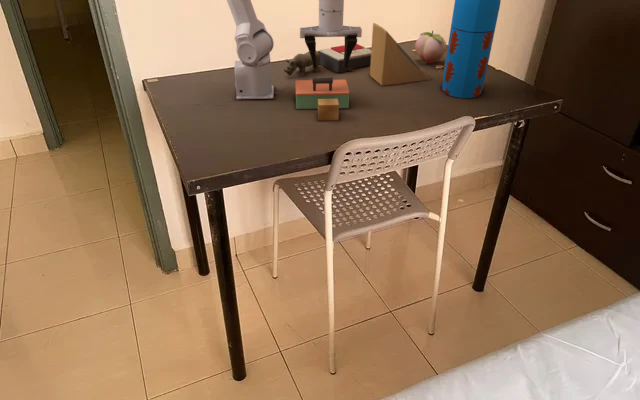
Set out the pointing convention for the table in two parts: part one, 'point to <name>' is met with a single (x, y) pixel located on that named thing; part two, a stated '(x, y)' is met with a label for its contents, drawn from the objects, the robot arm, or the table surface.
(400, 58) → the sandwich container
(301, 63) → the rhino figurine
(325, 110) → the block
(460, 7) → the thermos
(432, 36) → the decorative fruit
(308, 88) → the lid
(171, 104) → the table surface
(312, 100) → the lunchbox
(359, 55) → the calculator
